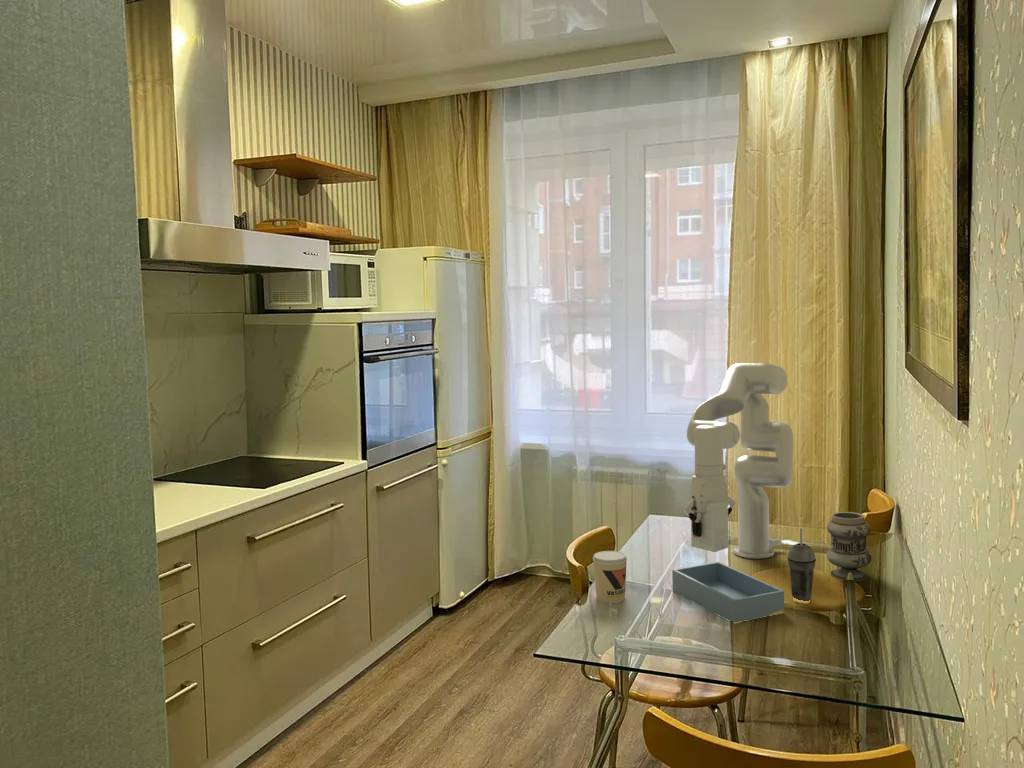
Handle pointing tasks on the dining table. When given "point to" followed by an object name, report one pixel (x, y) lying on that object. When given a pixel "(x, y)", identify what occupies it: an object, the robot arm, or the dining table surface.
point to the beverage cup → (801, 570)
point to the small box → (712, 528)
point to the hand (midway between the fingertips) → (709, 533)
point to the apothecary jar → (848, 545)
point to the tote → (727, 591)
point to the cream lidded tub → (610, 576)
